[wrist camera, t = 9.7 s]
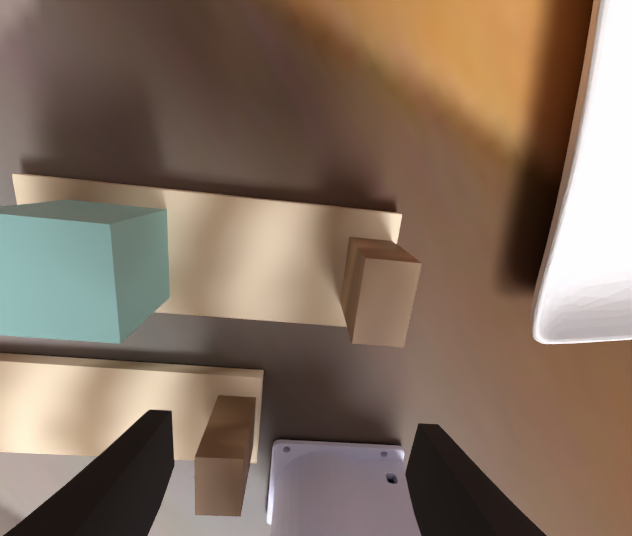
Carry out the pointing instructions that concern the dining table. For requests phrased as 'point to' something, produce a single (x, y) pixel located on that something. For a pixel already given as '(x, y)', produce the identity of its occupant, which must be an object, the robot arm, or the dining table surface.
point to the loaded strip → (268, 257)
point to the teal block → (81, 269)
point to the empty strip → (137, 414)
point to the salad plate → (593, 199)
